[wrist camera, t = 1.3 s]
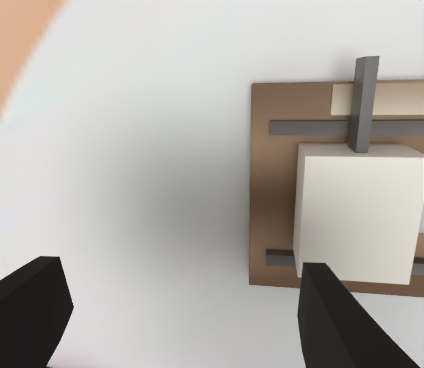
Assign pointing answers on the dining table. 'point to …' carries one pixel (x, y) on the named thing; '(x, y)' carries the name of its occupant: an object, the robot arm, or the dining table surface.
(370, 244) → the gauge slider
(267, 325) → the dining table surface
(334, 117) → the base
